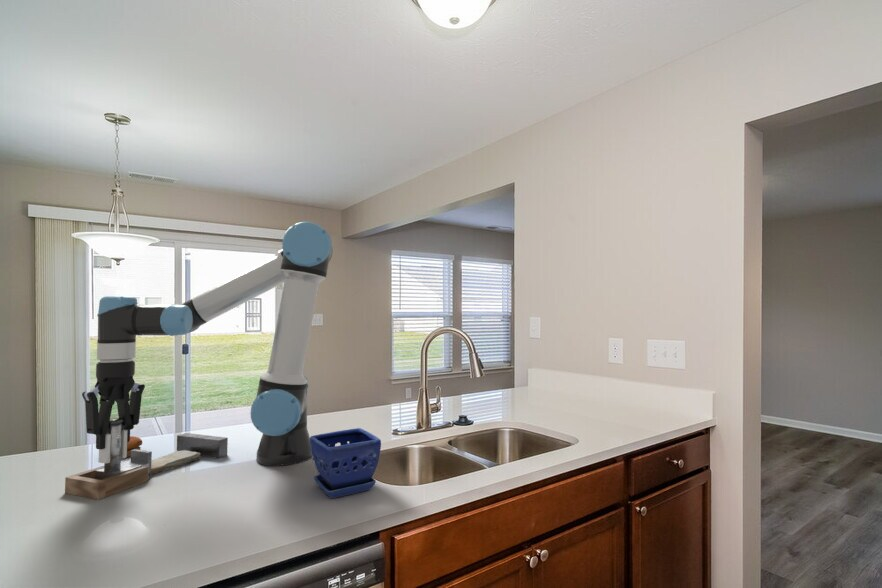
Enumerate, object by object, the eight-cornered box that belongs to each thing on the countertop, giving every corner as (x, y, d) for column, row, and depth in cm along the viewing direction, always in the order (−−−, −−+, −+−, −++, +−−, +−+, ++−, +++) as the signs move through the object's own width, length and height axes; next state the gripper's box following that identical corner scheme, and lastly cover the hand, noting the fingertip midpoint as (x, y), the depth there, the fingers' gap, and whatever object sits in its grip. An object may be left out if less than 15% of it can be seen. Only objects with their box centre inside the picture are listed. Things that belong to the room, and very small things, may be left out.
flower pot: (325, 505, 94) (326, 448, 95) (308, 485, 106) (308, 434, 106) (382, 492, 101) (382, 439, 102) (360, 474, 113) (361, 426, 113)
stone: (151, 479, 111) (151, 468, 111) (127, 471, 116) (127, 461, 116) (205, 461, 125) (206, 451, 125) (182, 455, 129) (182, 446, 129)
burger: (135, 458, 126) (135, 441, 126) (96, 461, 123) (96, 444, 123) (146, 448, 136) (146, 432, 136) (109, 451, 133) (110, 435, 133)
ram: (152, 472, 111) (154, 414, 112) (114, 485, 103) (116, 422, 103) (132, 468, 114) (134, 412, 114) (93, 481, 105) (95, 420, 106)
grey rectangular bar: (227, 455, 128) (227, 437, 128) (218, 458, 125) (219, 440, 125) (185, 449, 133) (186, 432, 134) (176, 452, 131) (177, 435, 131)
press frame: (148, 481, 108) (148, 466, 108) (98, 499, 97) (98, 483, 97) (116, 475, 112) (117, 461, 112) (64, 493, 101) (65, 477, 101)
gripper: (137, 357, 116) (135, 448, 115) (67, 363, 100) (63, 469, 99) (159, 357, 113) (156, 451, 112) (90, 364, 98) (86, 473, 97)
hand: (112, 459), depth 106 cm, fingers closed on ram, 3 cm apart
